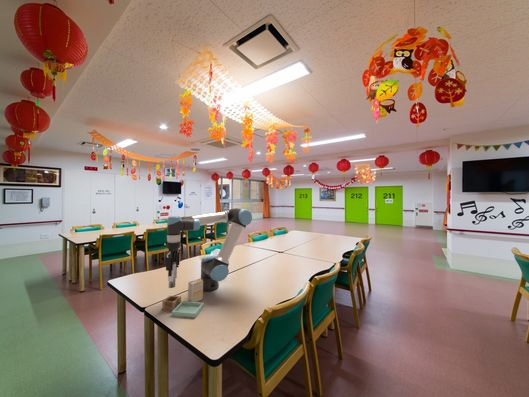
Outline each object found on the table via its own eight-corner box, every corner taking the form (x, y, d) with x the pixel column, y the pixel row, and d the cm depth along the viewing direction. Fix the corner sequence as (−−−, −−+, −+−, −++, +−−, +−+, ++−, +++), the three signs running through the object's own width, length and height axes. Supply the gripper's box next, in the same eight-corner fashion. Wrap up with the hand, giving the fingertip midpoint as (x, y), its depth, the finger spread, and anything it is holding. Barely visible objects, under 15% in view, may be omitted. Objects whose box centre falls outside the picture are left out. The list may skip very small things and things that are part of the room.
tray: (181, 305, 127) (182, 301, 127) (203, 306, 125) (203, 302, 125) (171, 316, 115) (171, 311, 115) (195, 318, 113) (195, 313, 113)
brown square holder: (169, 303, 128) (169, 295, 128) (180, 304, 128) (181, 296, 128) (162, 309, 121) (162, 301, 121) (174, 310, 120) (174, 302, 120)
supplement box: (198, 297, 137) (199, 278, 137) (202, 300, 134) (203, 280, 134) (187, 302, 130) (188, 281, 130) (191, 304, 127) (192, 284, 127)
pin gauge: (170, 285, 126) (171, 261, 126) (176, 285, 126) (177, 261, 126) (167, 287, 122) (167, 263, 122) (173, 288, 122) (174, 263, 122)
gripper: (175, 238, 133) (173, 274, 133) (159, 244, 116) (158, 284, 116) (186, 239, 132) (184, 274, 132) (172, 244, 116) (170, 285, 115)
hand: (172, 279), depth 124 cm, fingers closed on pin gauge, 4 cm apart
